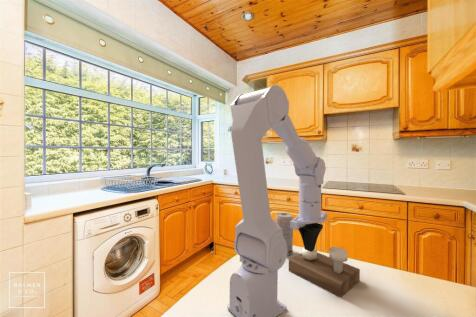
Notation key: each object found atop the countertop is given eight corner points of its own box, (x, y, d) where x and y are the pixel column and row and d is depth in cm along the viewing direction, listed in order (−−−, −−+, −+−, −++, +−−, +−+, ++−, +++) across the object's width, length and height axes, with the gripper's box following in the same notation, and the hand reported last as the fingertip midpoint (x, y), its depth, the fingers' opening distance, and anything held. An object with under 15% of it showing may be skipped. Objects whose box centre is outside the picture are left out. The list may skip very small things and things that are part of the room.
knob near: (342, 278, 49) (342, 255, 49) (326, 270, 53) (326, 249, 52) (350, 272, 52) (350, 251, 52) (334, 265, 55) (334, 245, 55)
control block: (340, 297, 47) (340, 284, 47) (288, 270, 58) (288, 259, 58) (359, 281, 53) (359, 269, 53) (309, 259, 64) (309, 249, 64)
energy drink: (291, 248, 71) (291, 212, 71) (293, 256, 66) (294, 217, 66) (274, 247, 72) (275, 212, 72) (276, 255, 67) (276, 216, 66)
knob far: (311, 274, 56) (311, 254, 56) (298, 267, 59) (298, 249, 59) (319, 269, 58) (319, 250, 58) (306, 263, 61) (306, 245, 61)
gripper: (307, 207, 51) (306, 264, 51) (337, 199, 60) (336, 247, 60) (283, 202, 56) (283, 253, 56) (314, 195, 65) (313, 239, 65)
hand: (309, 250), depth 58 cm, fingers closed, pressing on knob far
